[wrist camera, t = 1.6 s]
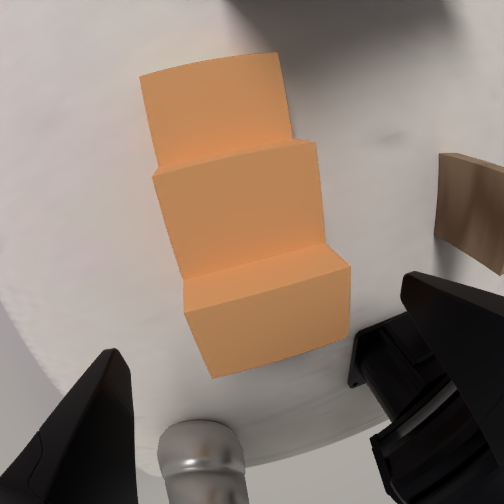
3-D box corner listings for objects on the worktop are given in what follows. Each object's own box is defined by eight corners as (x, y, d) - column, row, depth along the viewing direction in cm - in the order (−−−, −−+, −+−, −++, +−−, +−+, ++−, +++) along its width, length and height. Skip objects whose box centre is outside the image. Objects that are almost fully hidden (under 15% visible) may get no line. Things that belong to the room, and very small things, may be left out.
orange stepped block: (147, 85, 9) (112, 48, 4) (263, 62, 10) (323, 19, 5) (200, 289, 14) (212, 378, 9) (294, 264, 15) (347, 336, 9)
